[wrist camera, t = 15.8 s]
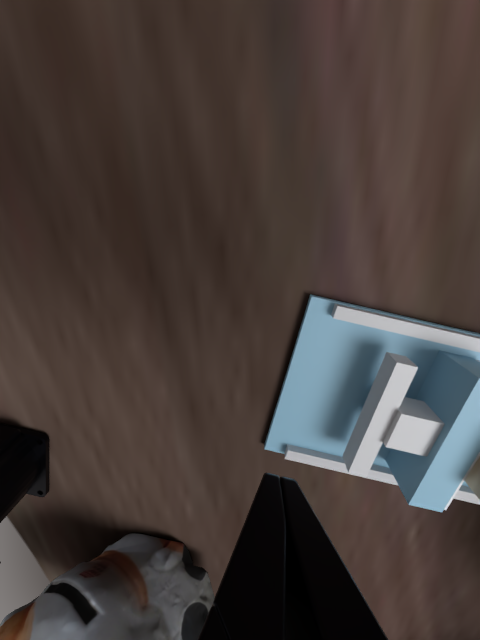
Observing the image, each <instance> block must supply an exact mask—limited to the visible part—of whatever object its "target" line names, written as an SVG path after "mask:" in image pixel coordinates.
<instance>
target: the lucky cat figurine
mask: <svg viewBox="0 0 480 640" xmlns="http://www.w3.org/2000/svg"><path fill="white" fill-rule="evenodd" d="M214 599H215V598H214V594H213V591H212V587H211V583H210V579H209V576H208V572H207V571H206V570H205V569H203V568H202V567H198V566H194V565H193V563H192V559H191V556H190V553H189V550H188V549H187V548H186V547H185V546H184V544H183V543H181V542H175V541H170V540H165V539H161V538H157V537H152V536H148V535H144V534H136V533H130V534H128V535H126V536H124V537H123V538H122V539H120V540H119V541H117V542H116V543H114V544H113V545H109V546H108V547H107V548H106V549H105V550H104V551H103V553H102V554H101V555H99V556H98V557H96V558H94V559H93V560H91V561H90V562H81V563H80V564H78V565H77V566H75V567H74V568H72V569H71V570H69V571H67V572H66V573H64V574H62V575H60V576H59V577H57V578H56V579H54V580H53V581H52V582H51V583H50V584H49V585H48V586H47V587H46V588H45V589H44V591H43V592H42V593H41V595H40V596H38V597H37V598H36V599H34V600H33V601H32V602H30V603H29V604H27V605H25V606H22V607H20V608H19V609H16V610H14V611H13V612H11V613H10V614H8V615H7V616H6V617H5V618H4V619H3V621H2V623H1V625H0V640H198V638H199V635H200V633H201V631H202V628H203V626H204V623H205V621H206V618H207V616H208V613H209V611H210V608H211V606H212V604H213V601H214Z"/></svg>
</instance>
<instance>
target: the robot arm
mask: <svg viewBox="0 0 480 640" xmlns="http://www.w3.org/2000/svg"><path fill="white" fill-rule="evenodd" d="M48 492H49V437H48V436H47V435H46V434H43V433H39V432H35V431H31V430H26V429H22V428H18V427H14V426H9V425H5V424H1V423H0V523H1V521H2V520H3V519H4V518H5V517H6V516H7V515H8V513H9V512H10V511H11V510H12V509H13V508H14V507H15V506H16V504H17V503H18V502H19V501H20V500H21V499H22V498H23V497H24V495H25V494H30V495H34V496H39V497H44V496H45V495H46V494H47V493H48ZM0 563H1V562H0ZM198 640H388V639H387V637H386V635H385V633H384V632H383V630H382V628H381V626H380V625H379V623H378V621H377V620H376V618H375V616H374V614H373V613H372V611H371V609H370V607H369V606H368V604H367V602H366V601H365V599H364V597H363V595H362V594H361V592H360V590H359V588H358V587H357V585H356V583H355V582H354V580H353V578H352V576H351V575H350V573H349V571H348V569H347V568H346V566H345V564H344V563H343V561H342V559H341V557H340V556H339V554H338V552H337V550H336V549H335V547H334V545H333V544H332V542H331V540H330V538H329V537H328V535H327V533H326V531H325V530H324V528H323V526H322V525H321V523H320V521H319V519H318V518H317V516H316V514H315V512H314V511H313V509H312V507H311V506H310V504H309V502H308V500H307V499H306V497H305V495H304V493H303V492H302V490H301V488H300V487H299V485H298V483H297V482H296V481H295V480H294V479H291V478H287V477H280V478H279V476H278V475H274V474H270V473H265V474H264V475H263V478H262V480H261V483H260V485H259V488H258V490H257V493H256V495H255V498H254V500H253V503H252V505H251V508H250V510H249V513H248V515H247V518H246V520H245V523H244V525H243V528H242V531H241V533H240V536H239V538H238V541H237V543H236V546H235V548H234V551H233V553H232V556H231V558H230V561H229V563H228V566H227V568H226V571H225V573H224V576H223V578H222V581H221V583H220V586H219V588H218V591H217V593H216V596H215V599H214V601H213V604H212V606H211V608H210V611H209V613H208V616H207V618H206V621H205V623H204V626H203V628H202V631H201V633H200V635H199V638H198Z"/></svg>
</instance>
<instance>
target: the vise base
mask: <svg viewBox="0 0 480 640" xmlns="http://www.w3.org/2000/svg"><path fill="white" fill-rule="evenodd" d="M439 350H441V351H445V352H449V353H454V354H458V355H462V356H467V357H471V358H473V359H475V360H479V361H480V334H479V333H475V332H470V331H466V330H462V329H458V328H453V327H449V326H445V325H440V324H436V323H432V322H427V321H423V320H419V319H414V318H410V317H406V316H402V315H397V314H393V313H389V312H384V311H380V310H376V309H371V308H367V307H363V306H358V305H354V304H350V303H345V302H341V301H337V300H333V299H328V298H324V297H320V296H315V295H311V294H310V297H309V300H308V304H307V307H306V310H305V314H304V317H303V320H302V323H301V327H300V330H299V333H298V336H297V340H296V343H295V346H294V349H293V353H292V356H291V359H290V362H289V366H288V369H287V372H286V375H285V379H284V382H283V385H282V389H281V392H280V395H279V398H278V402H277V405H276V408H275V411H274V415H273V418H272V421H271V424H270V428H269V431H268V434H267V437H266V441H265V444H264V449H266V450H271V451H275V452H279V453H283V454H285V459H288V460H292V461H296V462H301V463H305V464H309V465H313V466H318V467H322V468H326V469H330V470H335V471H339V472H343V473H347V474H352V473H348V471H347V468H346V465H345V462H344V459H343V453H344V451H345V448H346V446H347V444H348V441H349V439H350V437H351V434H352V432H353V430H354V427H355V425H356V423H357V420H358V418H359V415H360V413H361V411H362V408H363V406H364V404H365V401H366V399H367V397H368V394H369V392H370V390H371V387H372V385H373V382H374V380H375V378H376V375H377V373H378V371H379V368H380V366H381V364H382V361H383V359H384V357H385V354H386V352H389V353H394V354H398V355H402V356H406V357H407V358H409V359H410V360H411V361H412V362H413V363H414V364H415V365H416V366H417V367H418V369H417V371H416V374H415V376H414V378H413V380H412V382H411V384H410V386H409V388H408V390H407V393H406V395H405V397H407V398H412V399H416V397H417V395H418V393H419V391H420V389H421V387H422V385H423V383H424V381H425V378H426V376H427V374H428V372H429V370H430V368H431V366H432V364H433V362H434V360H435V358H436V356H437V354H438V352H439ZM390 450H391V448H387V447H385V445H384V443H382V445H381V447H380V449H379V452H378V454H377V456H376V458H375V460H374V462H373V464H372V466H371V468H370V471H369V473H368V475H367V477H365V476H361V475H356V474H352V475H356V476H360V477H364V478H369V479H373V480H377V481H381V482H386V483H390V484H394V485H398V483H397V481H396V480H395V478H394V476H393V474H392V472H391V470H390V468H389V466H388V464H387V462H386V458H387V456H388V454H389V452H390ZM398 486H399V485H398ZM454 499H458V500H462V501H467V502H471V503H475V504H479V505H480V500H479V498H478V497H477V496H476V495H475V493H474V492H473V491H472V490H471V488H470V487H469V486H468V485H467V483H466V482H465V481H464V482H463V484H462V485H461V487H460V489H459V490H458V492H457V493H456V495H455V497H454Z"/></svg>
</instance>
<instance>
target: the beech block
mask: <svg viewBox="0 0 480 640" xmlns="http://www.w3.org/2000/svg"><path fill="white" fill-rule="evenodd" d="M465 482H466V483H467V485H468V486H469V487H470V488H471V490H472V491H473V492H474V493H475V495H476V496H477V497H478V498H479V500H480V456H479V458H478V460H477V461H476V463H475V465H474V466H473V468H472V469H471V471H470V473H469V474H468V476H467V477H466V479H465Z"/></svg>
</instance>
